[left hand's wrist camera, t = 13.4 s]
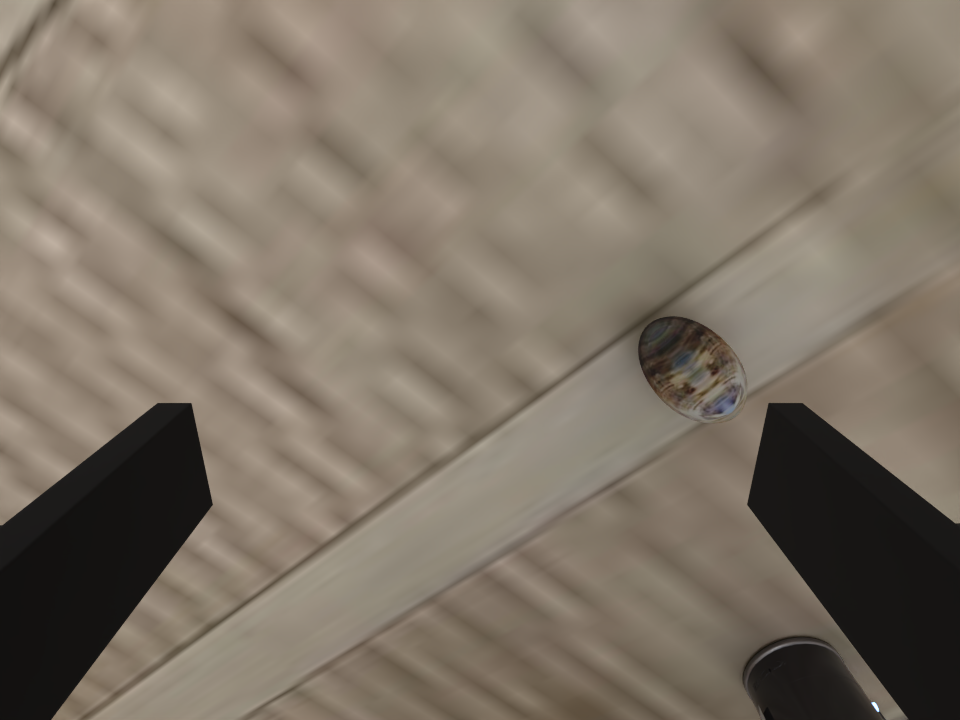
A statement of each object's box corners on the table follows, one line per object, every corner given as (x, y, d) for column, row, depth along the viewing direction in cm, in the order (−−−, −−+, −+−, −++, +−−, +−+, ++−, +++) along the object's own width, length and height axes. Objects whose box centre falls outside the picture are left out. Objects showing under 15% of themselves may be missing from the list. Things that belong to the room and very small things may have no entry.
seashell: (742, 368, 42) (799, 415, 34) (682, 415, 43) (725, 471, 36) (665, 282, 39) (708, 313, 32) (604, 335, 41) (632, 377, 33)
